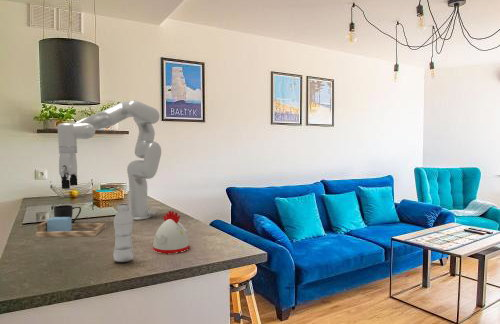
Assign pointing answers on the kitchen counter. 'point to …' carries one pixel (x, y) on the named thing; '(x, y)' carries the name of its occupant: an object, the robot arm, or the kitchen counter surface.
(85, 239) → the kitchen counter surface
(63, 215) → the mug
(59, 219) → the light blue block
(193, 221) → the kitchen counter surface
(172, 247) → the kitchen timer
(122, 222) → the plastic bottle
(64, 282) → the kitchen counter surface
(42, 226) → the tray
